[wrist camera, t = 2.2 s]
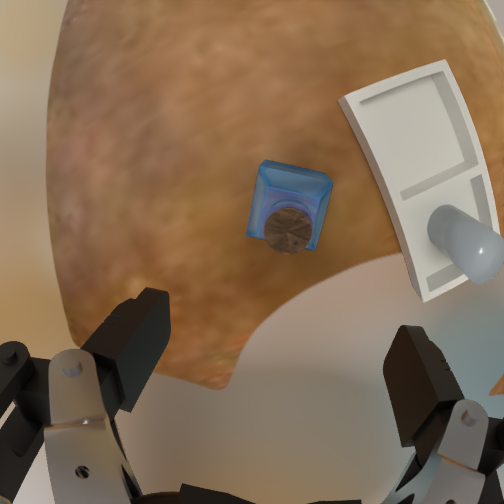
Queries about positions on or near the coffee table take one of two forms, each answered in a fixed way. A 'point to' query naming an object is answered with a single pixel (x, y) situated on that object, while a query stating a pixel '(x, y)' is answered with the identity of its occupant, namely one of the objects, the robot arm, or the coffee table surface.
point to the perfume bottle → (289, 206)
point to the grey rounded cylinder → (467, 243)
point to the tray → (422, 163)
